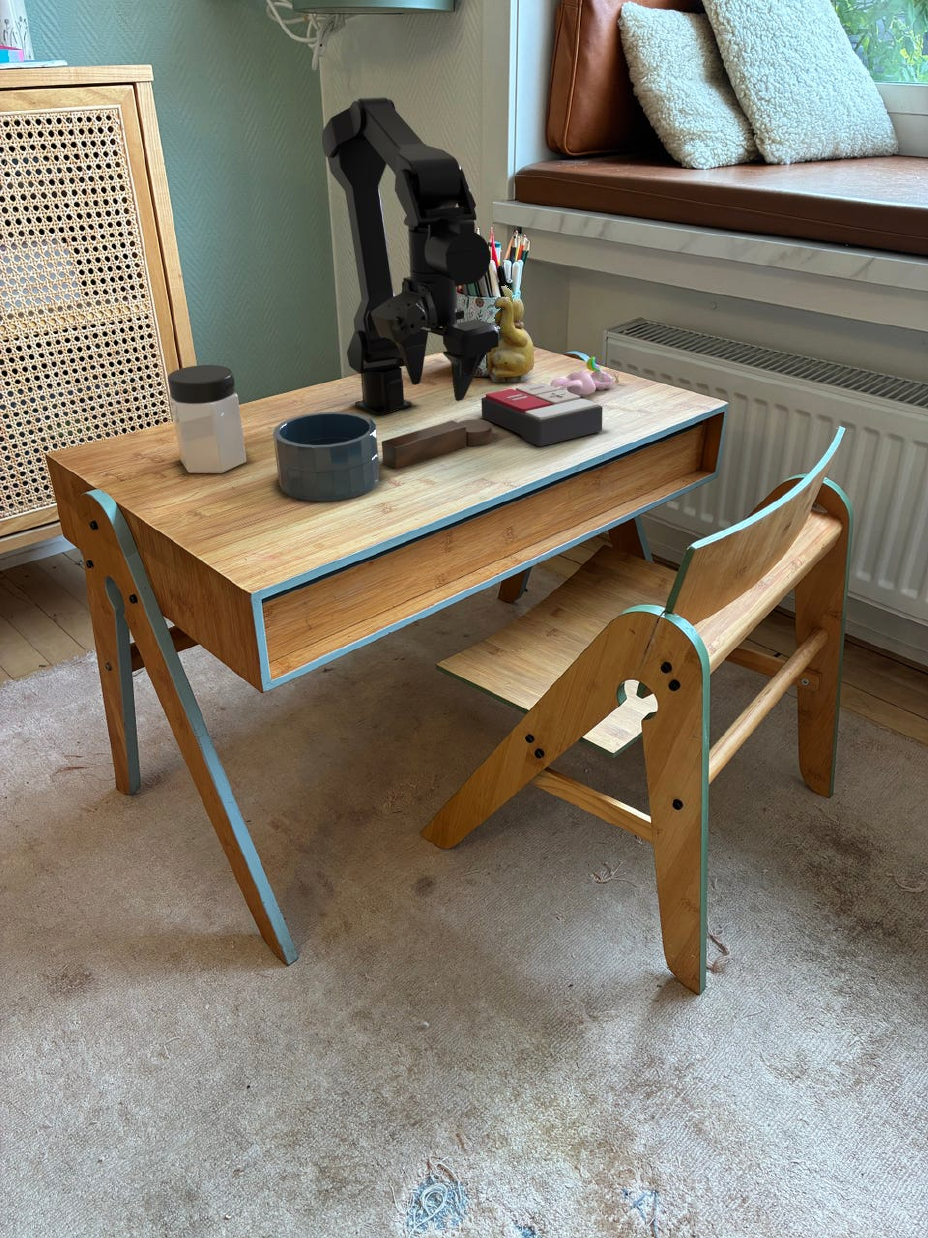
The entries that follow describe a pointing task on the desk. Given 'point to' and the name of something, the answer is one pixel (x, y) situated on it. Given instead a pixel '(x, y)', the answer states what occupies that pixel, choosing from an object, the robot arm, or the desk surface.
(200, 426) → the jar
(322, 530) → the desk surface
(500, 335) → the decorative figurine
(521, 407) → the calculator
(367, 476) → the pot
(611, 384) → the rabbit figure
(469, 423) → the spoon
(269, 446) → the desk surface
